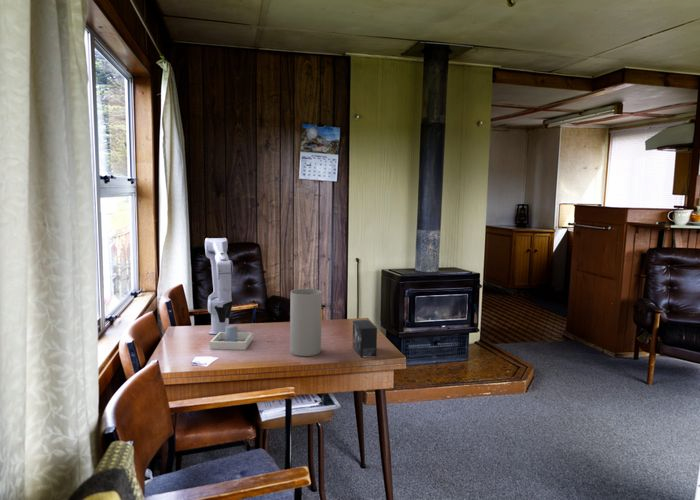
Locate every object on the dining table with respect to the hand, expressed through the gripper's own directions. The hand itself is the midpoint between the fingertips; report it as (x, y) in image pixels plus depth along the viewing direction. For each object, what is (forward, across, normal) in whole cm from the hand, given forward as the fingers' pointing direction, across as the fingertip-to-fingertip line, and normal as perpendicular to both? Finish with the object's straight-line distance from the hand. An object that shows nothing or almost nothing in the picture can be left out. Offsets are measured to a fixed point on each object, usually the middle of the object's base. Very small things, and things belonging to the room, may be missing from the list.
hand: (224, 320), depth 213 cm
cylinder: (+9, +4, +4) cm, 10 cm away
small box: (+10, +10, +60) cm, 62 cm away
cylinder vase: (+10, +12, +36) cm, 39 cm away
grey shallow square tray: (+9, +4, +4) cm, 11 cm away
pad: (+9, +4, +4) cm, 11 cm away
